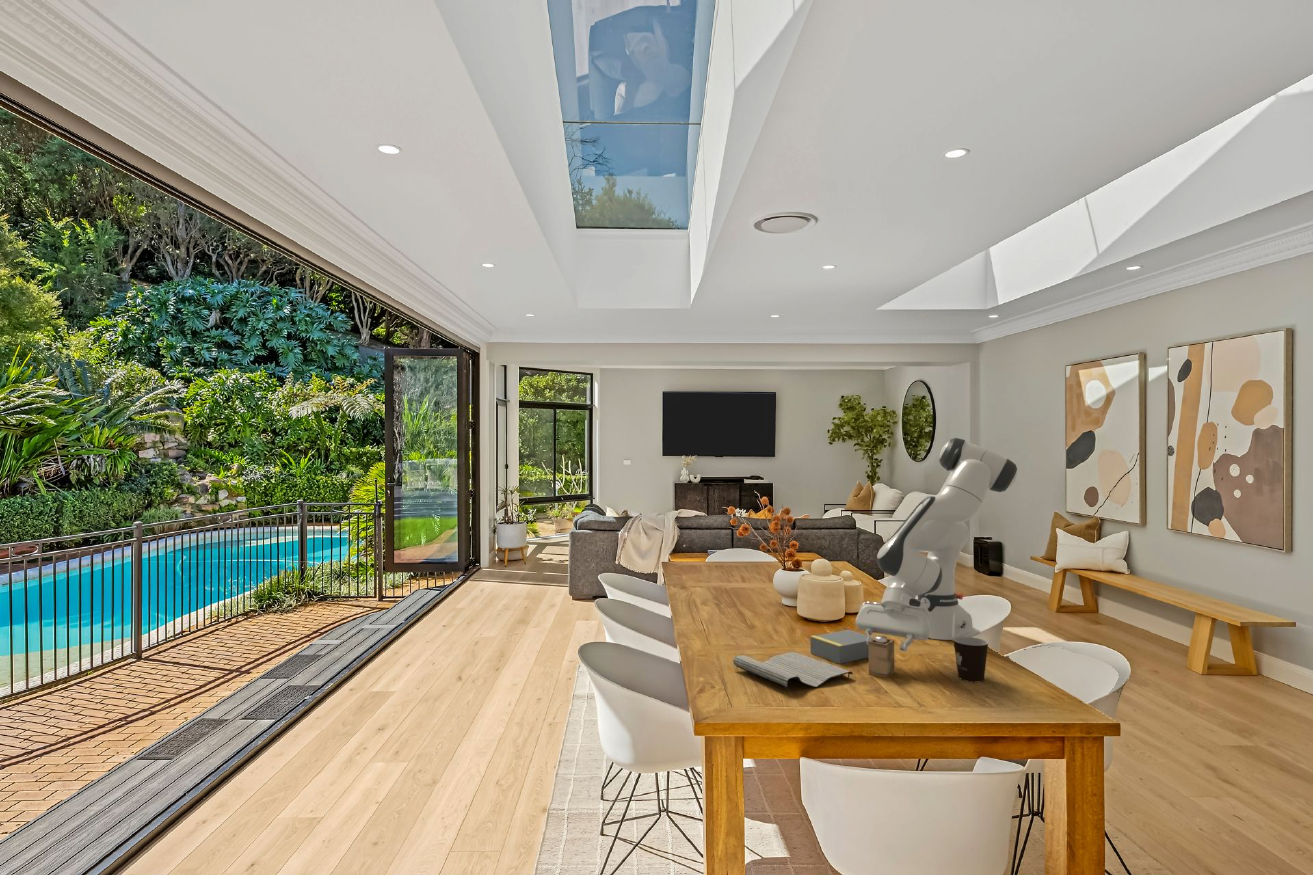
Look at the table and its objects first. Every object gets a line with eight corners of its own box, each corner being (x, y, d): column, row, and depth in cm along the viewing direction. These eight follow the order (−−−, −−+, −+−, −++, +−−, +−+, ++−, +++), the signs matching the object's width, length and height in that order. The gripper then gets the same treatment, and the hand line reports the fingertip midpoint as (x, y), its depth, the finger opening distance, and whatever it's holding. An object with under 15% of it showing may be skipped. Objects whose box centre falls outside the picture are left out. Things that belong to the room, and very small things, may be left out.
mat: (853, 680, 183) (853, 663, 183) (787, 697, 171) (787, 678, 171) (795, 658, 203) (795, 642, 203) (732, 671, 191) (732, 654, 191)
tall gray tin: (876, 668, 192) (876, 636, 192) (894, 672, 189) (894, 640, 189) (868, 674, 187) (868, 641, 187) (886, 678, 184) (886, 644, 184)
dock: (848, 645, 215) (848, 628, 215) (878, 655, 204) (877, 637, 204) (810, 653, 207) (810, 636, 207) (839, 663, 196) (839, 645, 196)
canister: (880, 642, 190) (880, 635, 190) (889, 645, 187) (889, 637, 187) (872, 643, 189) (872, 636, 189) (881, 646, 186) (881, 639, 186)
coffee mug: (990, 684, 178) (990, 646, 178) (955, 681, 181) (954, 643, 181) (984, 671, 189) (984, 635, 190) (951, 668, 192) (950, 632, 192)
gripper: (859, 594, 202) (846, 634, 194) (930, 603, 189) (919, 646, 181) (865, 607, 205) (853, 646, 197) (935, 616, 192) (925, 659, 184)
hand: (885, 646), depth 189 cm, fingers open, 8 cm apart
